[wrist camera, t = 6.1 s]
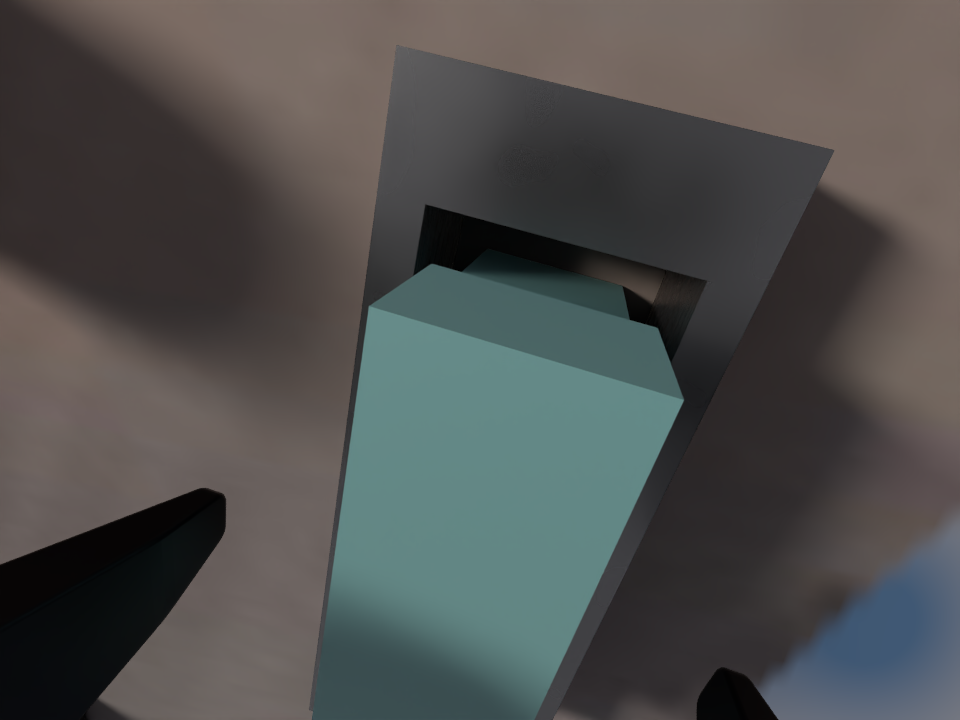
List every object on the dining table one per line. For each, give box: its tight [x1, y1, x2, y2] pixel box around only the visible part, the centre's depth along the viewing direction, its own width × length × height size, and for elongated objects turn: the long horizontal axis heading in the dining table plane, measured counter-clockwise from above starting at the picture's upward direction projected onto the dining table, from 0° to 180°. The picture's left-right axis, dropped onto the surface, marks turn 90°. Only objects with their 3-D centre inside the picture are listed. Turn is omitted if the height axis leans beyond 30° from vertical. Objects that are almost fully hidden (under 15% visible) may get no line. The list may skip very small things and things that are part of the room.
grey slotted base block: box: [309, 45, 834, 720], centre depth 11 cm, size 16×6×3 cm, turn 167°
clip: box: [312, 249, 684, 720], centre depth 10 cm, size 11×3×6 cm, turn 167°
